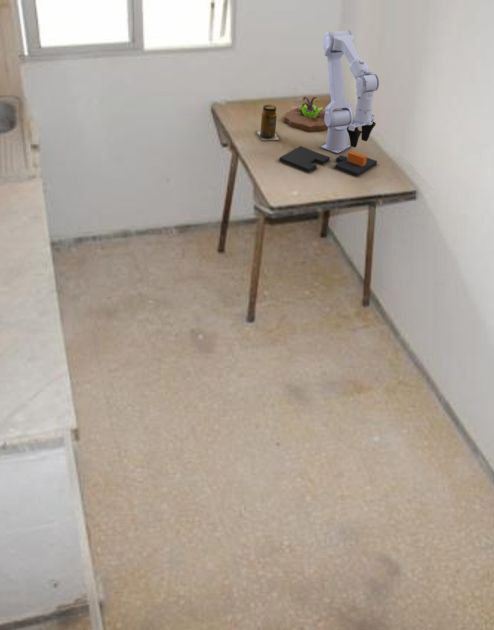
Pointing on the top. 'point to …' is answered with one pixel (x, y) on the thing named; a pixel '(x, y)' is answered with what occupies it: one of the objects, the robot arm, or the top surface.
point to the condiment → (268, 123)
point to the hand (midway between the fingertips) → (358, 143)
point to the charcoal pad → (354, 163)
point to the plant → (306, 117)
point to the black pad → (304, 159)
